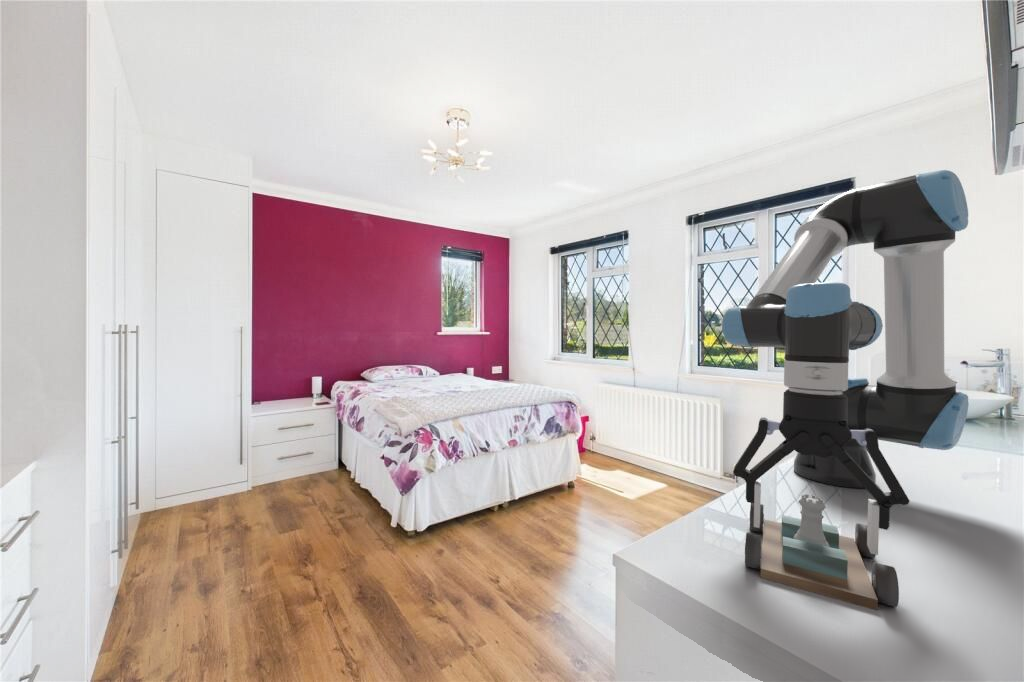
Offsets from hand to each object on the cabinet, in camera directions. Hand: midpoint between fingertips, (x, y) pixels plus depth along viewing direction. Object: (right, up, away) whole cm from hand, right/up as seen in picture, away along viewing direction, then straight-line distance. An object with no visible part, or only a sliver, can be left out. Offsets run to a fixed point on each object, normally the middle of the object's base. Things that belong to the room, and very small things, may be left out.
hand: (811, 536), depth 60 cm
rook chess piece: (0, -3, 0) cm, 3 cm away
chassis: (0, -4, 0) cm, 4 cm away
